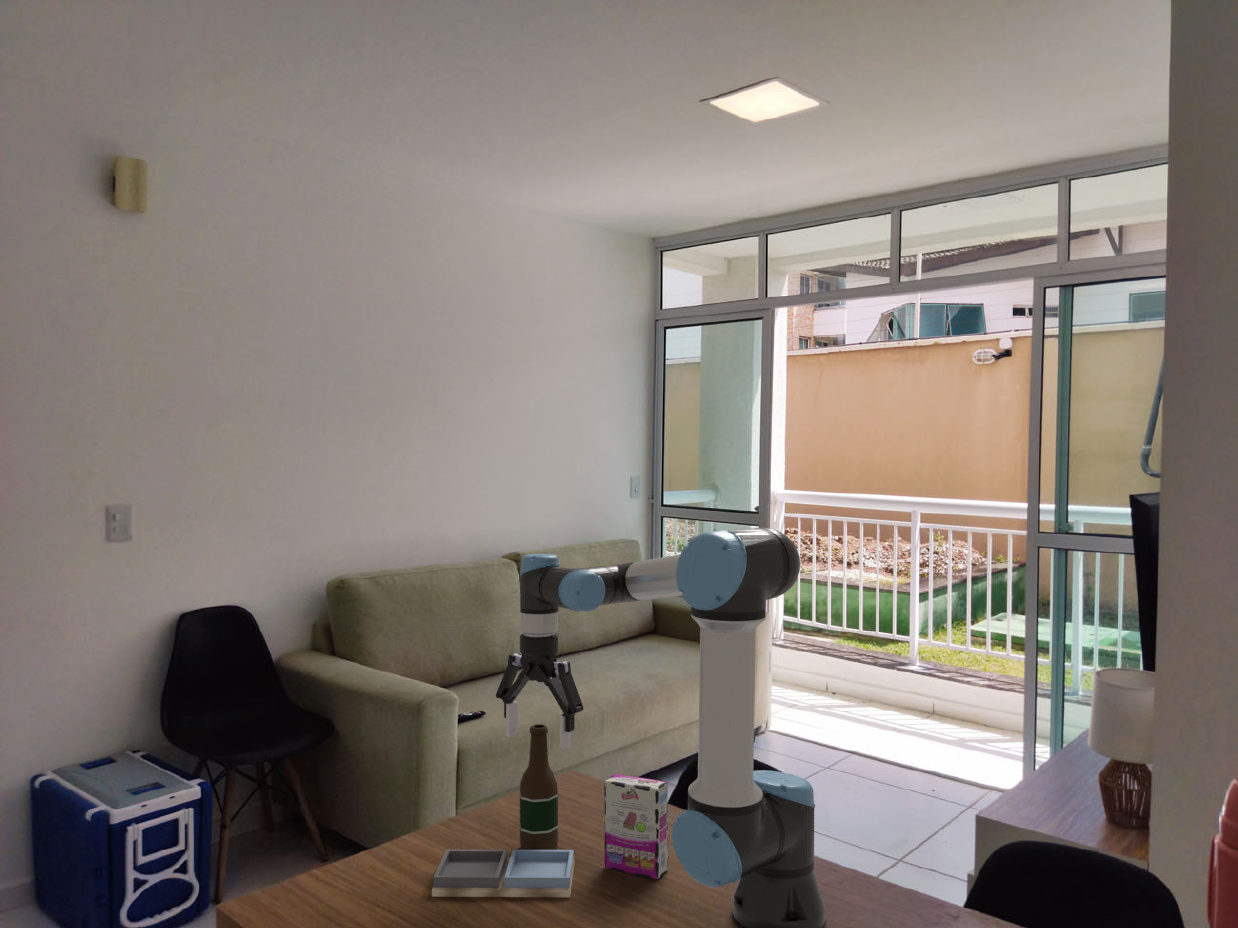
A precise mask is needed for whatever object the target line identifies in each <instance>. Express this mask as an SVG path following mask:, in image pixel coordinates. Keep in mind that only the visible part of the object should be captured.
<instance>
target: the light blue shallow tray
mask: <svg viewBox="0 0 1238 928" xmlns="http://www.w3.org/2000/svg"><path fill="white" fill-rule="evenodd" d="M573 860H574V861H575V856H574V849H557V850H521V849H512V851H511V855H510V860H509V864H508V867H507V870H506V874H505V877H504V888H570V882H571V875H572V867H573Z"/></svg>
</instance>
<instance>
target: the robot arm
mask: <svg viewBox="0 0 1238 928" xmlns="http://www.w3.org/2000/svg"><path fill="white" fill-rule="evenodd" d="M559 561H560V560H559V557H558V556H557V554H552V553H528V554H524V555H523V556H522V558H521V559H520V568H519V569H520V571H519V572H520V573H519V575H518V576H519V608H520V609H519V632H521V634H520V635H519V652H516V653H515V652H514V653H512V654H509V655H508V657H507V659H508V660H507V666H506V669H505V671H504V674H503V676H502V678H501V681H500V683H499V685H498V688H497V690H496V692H495V697H496V699H501V700H502V703H503V717H504V719H505V720H506V723H505V737H507V738H511V737H513V736H516V735H518V734H519V701H517V697H518V696H519V695H520V693H521V692H522V690H523V689H524V688H525V686H526V685H527V684H528V682H529V681H530V682H531V681H532V682H535V681H536V682H538V683H543V684H544V686H545V687H547V688H548V689H549V691H550V693H551V694H552V695H553V697H554V700H555V701H556V703H557V704H558V705H557V706H559V709H561V711H562V714H560V715H559V750H562V751H564V750H566V749H568V748H569V749H570V748H572V745H573V744H572V743H573V742H572V737H573V735H572V734H573V733H572V732H573V731H574V730H575V725H576V724H575V721H576V720H575V716H576V714H578V713H581V712H583V711H584V709H585V708H584V707H585V706H584V705H583V702H582V699H581V696H580V694H579V691H578V688H577V686H576V682H575V680H574V677H573V674H572V670H571V669H572V668H571V662H570V661H569V660H565V661H558V660H557V655H558V652H559V635H558V633H557V632H558V630H559V608H562V609H567V610H570V611H574V612H587V613H589V612H592V611H594V610H596V609H597V608H598V607H600V606H606V605H613V604H615V605H616V604H624V603H633V602H634V603H635V602H639V601H646V600H647V601H648V600H655V599H656V600H657V599H662V598H663V599H664V598H673V597H675V598H676V597H682V599H683V600H684V601H685V603H687V604H688V605H689V606H690V617H691V618H692V619H693V621H695V622H696V623H697V625H698V626H699V632H700V633H699V683H698V685H699V686H698V687H699V692H698V694H699V695H698V696H699V697H698V701H699V702H698V746H697V747H698V751H697V752H698V755H697V756H698V757H697V758H698V759H697V761H698V762H697V778H696V779H695V780H694V781H693V782H692V783H691V784H689V786H688V789H687V810H683V811H682V812H681V813H680V814H679V815H678V817H677V818H675V820H674V822H673V825H672V829H671V839H672V844H673V848H674V852H675V855H676V857H677V860H678V861H679V863H680V864H681V865H682V866H683V868H684V870H685V871H686V873H687V874H688V875H689V876H690V877H691V878H692V879H693V880H694V881H696V883H697V882H698V883H699V884H700V885H703V886H705V887H707V888H720V887H723V886H725V885H728V884H735V883H736V887H735V890H734V893H733V895H732V916H733V917H734V919H735V920H736V921H737V923H738V924H739V925H740V926H742V927H743V928H823V926H824V925H825V923H826V905H825V901H824V898H823V895H822V892H821V889H820V886H819V882H818V880H817V875H816V873H815V808H816V804H815V797H814V796H815V795H814V794H815V793H814V789H813V785H812V784H811V783H810V782H809V781H808V780H806V779H805V778H803V777H800V776H799V775H795V774H792V773H787V772H782V771H777V770H776V771H775V770H766V769H765V770H764V769H762V770H761V769H760V770H754V762H755V761H754V758H755V757H754V752H755V751H754V750H755V747H754V745H755V744H754V743H755V695H756V694H755V692H756V691H755V690H756V689H755V687H756V686H755V685H756V630H757V628H759V626H760V625H761V624H762V623H763V622H764V621H765V620H766V617H767V616H766V614H767V613H766V612H767V611H766V610H767V600H772V599H776V598H778V597H781V596H782V595H784V594H786V593H787V592H788V591H789V590H790V589H791V588H792V587H793V586H794V584H795V583H796V582H797V580H798V578H799V574H800V571H801V570H800V569H801V557H800V554H799V550H798V549H797V547H796V545H795V544H794V542H793V541H792V539H790V537H788V536H787V535H786V534H784V533H783V532H782V531H779V530H776V529H773V528H768V527H755V528H741V529H740V528H739V529H738V528H737V529H736V528H735V529H720V530H719V529H715V530H712V531H708V532H703V533H700V534H698V535H696V536H694V537H692V538H691V539H690V541H689V542H688V543H686V544H685V546H684V547H683V548H682V550H681V551H680V554H675V555H670V556H662V557H657V558H656V557H655V558H652V559H645V560H638V561H633V562H626V563H620V564H619V563H618V564H611V565H610V564H609V565H600V566H589V567H588V566H587V567H580V568H579V567H578V568H577V567H576V568H570V567H561V566H560V563H559ZM520 665H521V667H522V670H521V671H520V672H519V669H520ZM518 672H519V674H518ZM517 674H518V675H517ZM516 676H517V678H516ZM515 678H516V679H515Z"/></svg>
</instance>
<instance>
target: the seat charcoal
mask: <svg viewBox="0 0 1238 928" xmlns="http://www.w3.org/2000/svg"><path fill="white" fill-rule="evenodd" d="M507 857H508V849H468V848H467V849H462V848H461V849H458V848H457V849H453V848H452V849H451V848H449V849H448V848H447V849H445V852H444V854H443V856H442V858H441V861H440V862H439V864H438V866H437V868H436V871H435V872H434V874H433V881H432V883H433V884H432V885H433V887H432V888H499V885H500V882H501V878H502V875H503V872H504V869H505V865H506V862H507Z"/></svg>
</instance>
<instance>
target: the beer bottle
mask: <svg viewBox="0 0 1238 928" xmlns="http://www.w3.org/2000/svg"><path fill="white" fill-rule="evenodd" d="M548 733H549V730H548V726H547V725H546V724H543V723H542V724H541V723H540V724H539V723H537V724H533V725H531V726H530V727H529V734H530V744H529V745H530V746H529V747H530V748H529V758H528V759H529V760H528V765H527V768H525V771H524V772H523V774H522V777H521V778H520V779H521V780H520V782H519V783H520V784H519V845H520V850H558V846H559V845H558V843H559V840H558V839H559V791H558V783H557V780H556V777H555V774H554V772H553V771H552V768H551V767H550V765H549V764H550V763H549V755H548V754H549V752H548V750H549V749H548V736H547V735H548Z"/></svg>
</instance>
